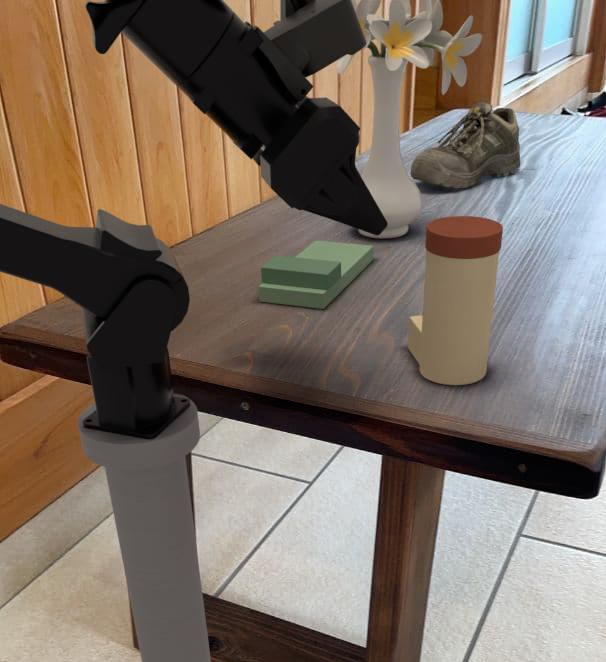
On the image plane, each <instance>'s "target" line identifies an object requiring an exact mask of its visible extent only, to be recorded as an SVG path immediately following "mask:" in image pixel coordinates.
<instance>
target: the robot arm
mask: <svg viewBox="0 0 606 662" xmlns="http://www.w3.org/2000/svg"><path fill="white" fill-rule="evenodd" d="M279 1H280V5H279V6H280V7H279V8H280V10H279V11H280V18H279V19H280V20H276V21H274V22H273V23H272V24H273V26H271V27H270V28H268V29H267V30H264V31H263V30H262V29H261V28H260V27H258V26H257V25H254V26H252V24H251V23H250V22H249V21H245V22H244V21H243V20H242V18H240V16H238V15H237V13H236V12H235V11H233V9H232V8H231V7H230V6H229V5H228V4H227V3H226V2H225V1H224V0H104V1H95V0H94V1H93V0H87V1H86V2H85V3H84V8H85V10H86V13H87V15H88V17H89V20H90V24H91V30H92V45H93V47H94V49H95V51H96V52H97V53H98V54H99V55H105V54H107V53H108V51H109V50H110V49H111V47H112V46H113V44H114V43H115V42H116V40H117V39H118V37H119V36H120V34H122V35H123V36H125V37H126V39H128V41H130V42H131V43H132V44H133V45H134V46H135V47H136V49H138V50H139V51H140V52H141V53H142V54H143V55H144V56H145V57H146V58H147V59H148V60H149V61H150V62H151V63H153V65H154V66H155V67H156V68H157V69H159V71H161V73H162V74H164V75H165V76H166V77H167V78H168V79H169V80H170V81H171V82H172V83H173V84H174V85H175V86H176V87H177V88H178V89H179V90H180V91H181V92H182V93H183V94H184V95H185V96H186V97H187V98H188V99H189V100H190V102H191V103H192V104H193V105H194V106H195V107H196V108H197V109H198V110H199V111H200V112H201V113H202V114H203V115H206V116H207V117H208V118H209V119H210V120H211V121H212V122H213V123H214V124H215V125H216V126H217V127H218V128H219V129H221V131H222V132H223V133H224V134H225V135H226V136H228V138H229V140H231V141H232V143H233V144H234V145H235V146H236V148H238V149H239V150H240V151H241V152H243V154H245V156H246V157H248V158H249V159H250V160H253V161H254V163H256V165H257V166H259V167H260V177H261V178H262V179H263V180H264V182H265V184H266V185H267V186H268V187H269V188H270V189H271V190H272V191H273V192H274V193H275V194H276V195H277V196H278V197H279V198H280V199H281V200H282V201H283V202H284V203H285V204H287V206H288V207H290V209H295V210H298V211H304V212H307V213H310V214H314V215H317V216H320V217H322V218H326V219H329V220H332V221H335V222H337V223H341V224H343V225H346V226H349V227H352V228H355V229H357V230H358V229H360V230H362V231H365V232H368V233H371V234H374V235H377V236H378V235H380V234H381V233H382V232H383V231H384V229H385V228H386V227H387V225H388V222H387V221H386V219H385V217H384V215H383V214H382V212H381V210H380V209H379V207H378V205H377V203H376V202H375V200H374V198H373V196H372V195H371V193H370V191H369V190H368V188H367V186H366V184H365V183H364V181H363V179H362V177H361V175H362V174H360V172H359V170H358V168H357V166H356V157H357V149H358V147H359V144H360V141H361V136H360V130H361V127H360V126H359V125H358V124H357V123H356V121H354V119H352V117H351V116H350V115H349V114H348V113H347V112H346V110H345V109H343V108H342V106H341V105H339V104H338V103H336V102H335V101H333V100H331V99H330V98H328V97H326V96H324V97H309V96H307V95H308V94H309V93H310V92H311V90H312V89H313V88H314V84H312V83H311V82H310V81H309V80H308V79H307V78H309V77H311V76H312V75H315V74H316V73H318V72H320V71H322V70H323V69H325V68H327V67H329V66H330V65H332V64H334V63H335V62H337V61H338V59H340V58H342V57H343V56H345V55H347V54H349V55H353V54H355V53H356V54H357V53H359V52H360V51H362V50H361V49H363V48H364V47H365V46H366V44H367V42H366V39H365V36H364V34H363V31H362V28H361V26H360V23H359V20H358V18H357V15H356V12H355V10H354V7H353V4H352V1H351V0H279ZM363 50H364V49H363ZM356 54H355V55H356ZM0 273H2V274H6V275H9V276H12V277H15V278H18V279H22V280H25V281H29V282H32V283H35V284H37V285H41V286H44V287H47V288H50V289H53V290H55V291H56V292H58V293H60V294H61V295H63V296H64V297H66V298H67V299H69V300H70V301H72V302H73V303H74V304H76V305H77V306H79V307H80V308H81V315H82V324H83V330H84V338H85V344H86V349H87V351H88V353H89V354H88V355H86V362H87V367H88V372H89V377H90V383H91V384H90V385H91V389H92V395H93V400H94V403H95V405H96V410H95V411H94V412H93V413H92V414H90V415H89V416H88V417H87V418H85V419H84V420H83V427H84V428H87V429H93V430H98V431H104V432H109V433H114V434H120V435H125V436H131V437H136V438H142V439H147V440H151V439H155V438H156V437H157V436H158V435H159V434H161V433H162V432H163V431H164V430H165V429H166V428H167V427H168V426H169V425H170V424H171V423H172V422H174V421H175V420H176V419H177V418H178V417H179V416H180V415H181V414H182V413H183V412H184V411H185V410H186V409H188V408H189V407H190V405H191V404H190V400H191V399H190V398H189V399H187V398H182V397H176V396H173V392H175V391H174V384H173V376H172V375H173V374H172V369H171V361H170V353H169V349H168V344H169V340H170V336H171V332H173V331H174V330H175V329H176V328H178V326H179V325H180V324H181V323H182V322H183V321H184V320H185V317H186V316H187V314H188V312H189V307H190V302H191V298H190V292H189V290H190V289H189V286H188V283H187V281H186V279H185V277H184V275H183V273H182V271H181V268H180V266H179V263H178V261H177V259H176V257H175V255H174V253H173V251H172V249H171V248H170V247H169V246H168V245H167V244H166V243H165V242H164V241H163V240H161V239H160V238H158V237H156V235H155V232H154V229H153V227H152V226H151V224H135V223H131V222H127V221H125V220H123V219H121V218H119V217H118V216H115V215H114V214H112V213H110V212H108V211H106V210H105V209H104V210H103V209H101V208H100V209H99V208H98V210H97V211H96V222H95V226H69V225H62V224H61V223H57V222H55V221H51V220H48V219H45V218H43V217H39V216H36V215H34V214H31V213H29V212H28V213H27V212H25V211H22V210H19V209H16V208H13V207H11V206H8V205H5V204H2V203H0Z"/></svg>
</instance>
